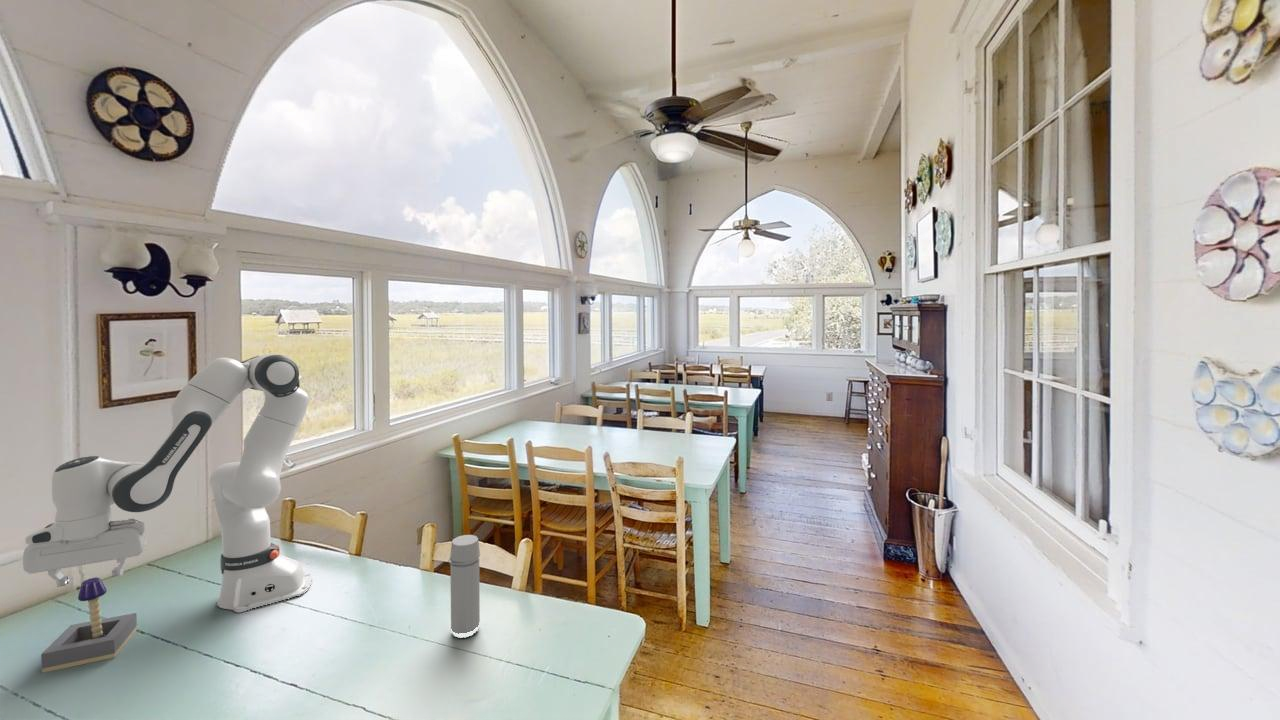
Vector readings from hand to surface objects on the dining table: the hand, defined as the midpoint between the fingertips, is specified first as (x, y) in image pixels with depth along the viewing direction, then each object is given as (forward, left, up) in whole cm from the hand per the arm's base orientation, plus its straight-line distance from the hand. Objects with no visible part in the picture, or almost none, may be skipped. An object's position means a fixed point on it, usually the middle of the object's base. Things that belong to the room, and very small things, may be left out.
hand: (91, 580), depth 119 cm
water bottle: (-82, +31, -18) cm, 89 cm away
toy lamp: (0, 0, -17) cm, 17 cm away
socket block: (0, 0, -18) cm, 18 cm away
